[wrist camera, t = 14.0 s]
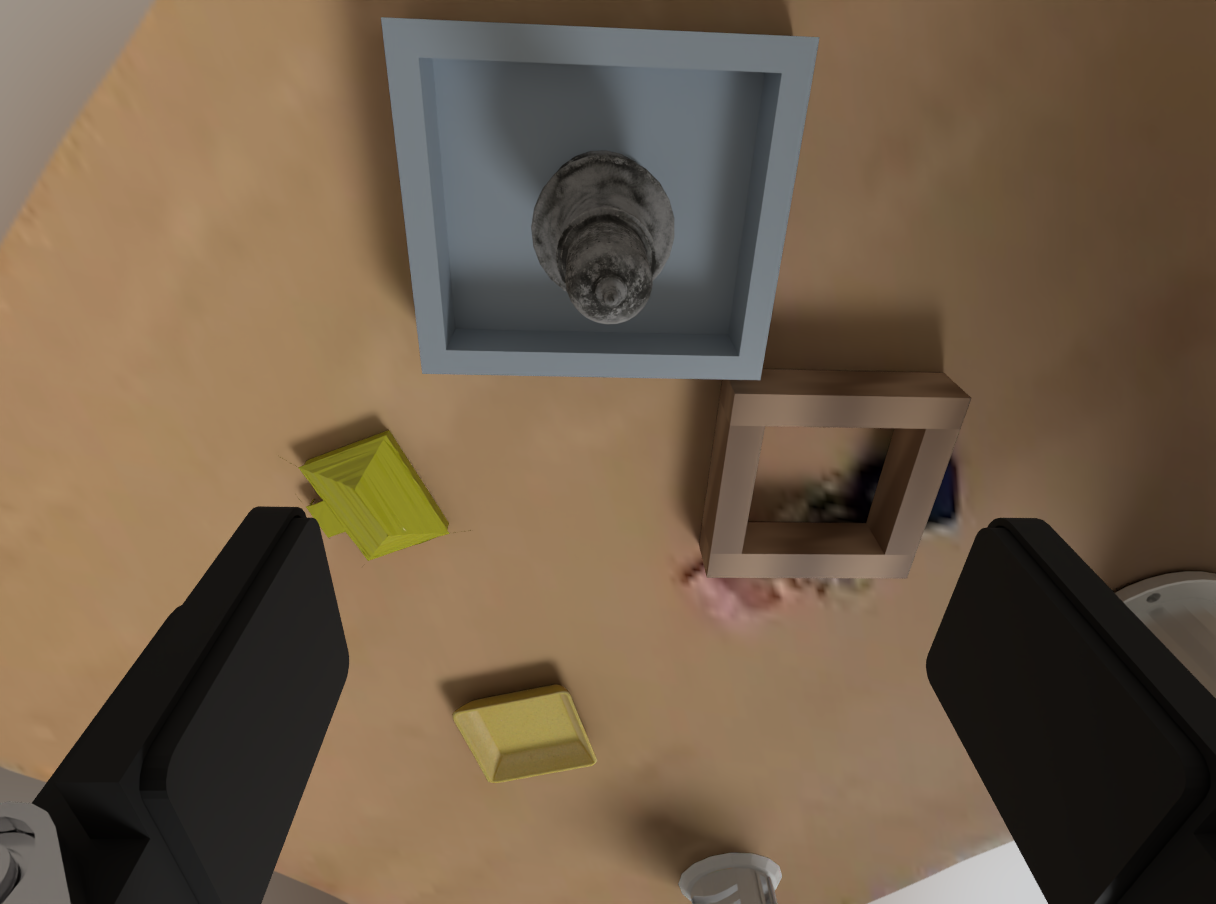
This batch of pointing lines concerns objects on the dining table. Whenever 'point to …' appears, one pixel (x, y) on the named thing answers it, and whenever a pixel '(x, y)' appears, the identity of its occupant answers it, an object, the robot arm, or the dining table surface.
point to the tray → (572, 125)
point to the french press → (731, 880)
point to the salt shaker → (603, 234)
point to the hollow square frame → (828, 398)
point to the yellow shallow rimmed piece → (525, 734)
